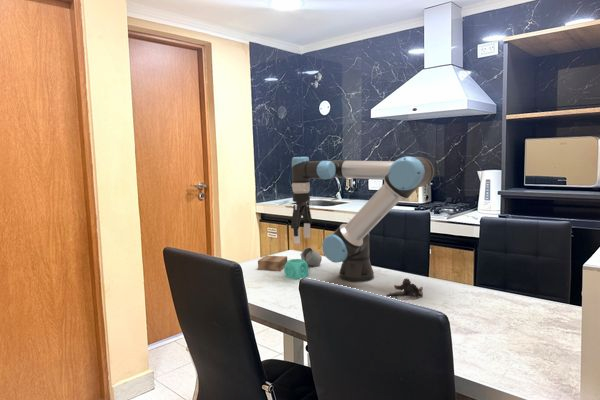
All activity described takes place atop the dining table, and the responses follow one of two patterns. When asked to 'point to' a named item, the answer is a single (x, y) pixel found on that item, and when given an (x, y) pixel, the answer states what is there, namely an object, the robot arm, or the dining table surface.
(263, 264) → the base block
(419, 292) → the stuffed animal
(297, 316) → the dining table surface
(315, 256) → the ceramic mug
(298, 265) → the decorative dice
